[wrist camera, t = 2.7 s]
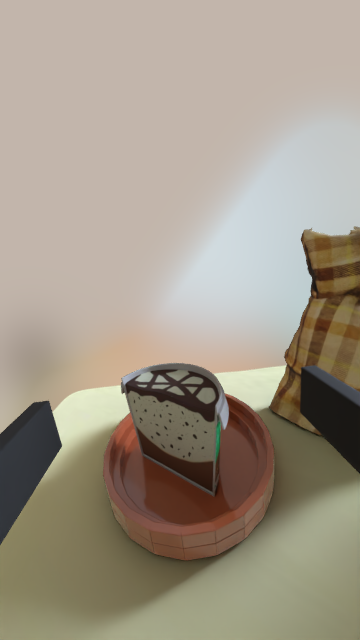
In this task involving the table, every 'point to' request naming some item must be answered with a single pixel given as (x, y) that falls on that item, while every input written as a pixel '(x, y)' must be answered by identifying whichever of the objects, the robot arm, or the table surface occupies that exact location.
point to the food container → (179, 419)
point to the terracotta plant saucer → (192, 490)
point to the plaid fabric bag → (325, 321)
